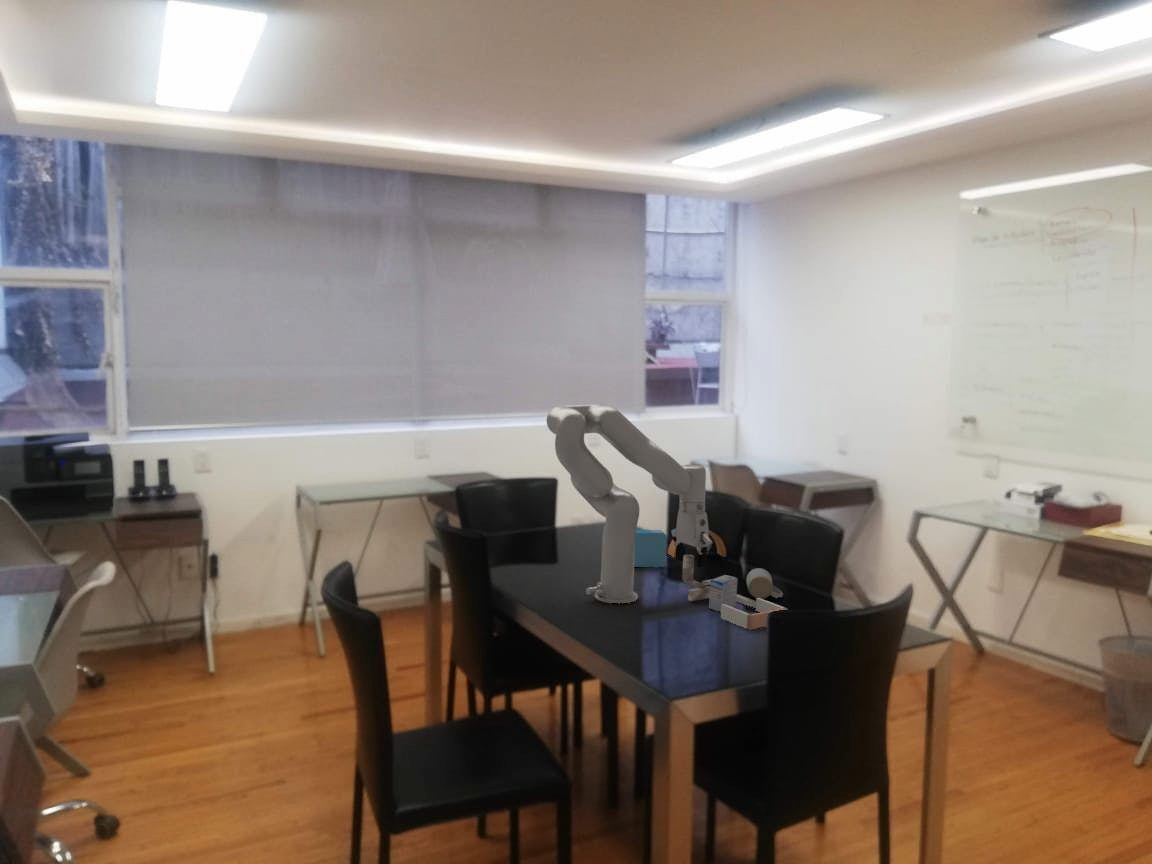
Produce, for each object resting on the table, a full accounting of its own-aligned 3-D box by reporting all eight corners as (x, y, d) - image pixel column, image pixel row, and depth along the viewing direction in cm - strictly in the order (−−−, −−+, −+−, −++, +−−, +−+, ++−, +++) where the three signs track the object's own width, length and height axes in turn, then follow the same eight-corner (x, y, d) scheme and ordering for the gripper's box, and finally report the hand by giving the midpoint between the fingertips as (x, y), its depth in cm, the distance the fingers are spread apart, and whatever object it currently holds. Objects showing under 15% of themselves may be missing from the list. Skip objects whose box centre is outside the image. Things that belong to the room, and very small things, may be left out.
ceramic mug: (747, 599, 258) (749, 573, 257) (745, 591, 266) (747, 566, 265) (784, 602, 257) (786, 577, 256) (780, 594, 265) (782, 569, 264)
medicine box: (722, 603, 253) (724, 574, 252) (736, 607, 250) (738, 577, 249) (708, 609, 246) (710, 579, 246) (722, 613, 244) (724, 582, 243)
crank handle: (693, 602, 251) (695, 564, 250) (670, 592, 260) (672, 556, 258) (733, 595, 259) (736, 559, 258) (709, 586, 268) (711, 551, 267)
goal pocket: (749, 630, 229) (750, 615, 229) (720, 618, 238) (721, 604, 238) (787, 623, 237) (788, 608, 236) (758, 611, 246) (758, 597, 246)
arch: (726, 557, 308) (728, 529, 307) (673, 558, 303) (674, 530, 302) (719, 553, 314) (721, 525, 313) (667, 554, 309) (668, 527, 308)
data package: (662, 564, 294) (664, 529, 292) (665, 568, 289) (667, 532, 288) (627, 564, 292) (628, 529, 291) (629, 568, 288) (631, 532, 286)
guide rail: (760, 611, 247) (760, 606, 246) (712, 592, 263) (713, 587, 263) (765, 610, 248) (766, 605, 248) (717, 591, 264) (718, 586, 264)
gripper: (721, 510, 253) (719, 568, 255) (683, 500, 268) (681, 555, 270) (701, 513, 249) (700, 571, 251) (663, 502, 264) (662, 558, 266)
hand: (690, 563), depth 260 cm, fingers open, 9 cm apart
